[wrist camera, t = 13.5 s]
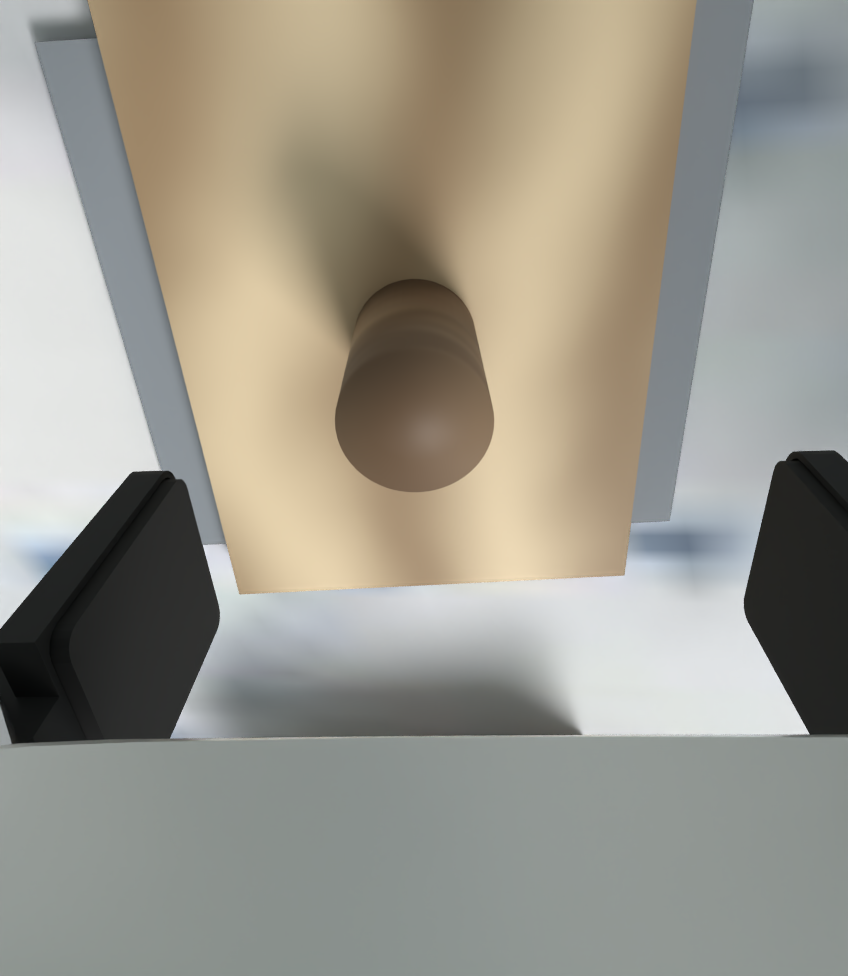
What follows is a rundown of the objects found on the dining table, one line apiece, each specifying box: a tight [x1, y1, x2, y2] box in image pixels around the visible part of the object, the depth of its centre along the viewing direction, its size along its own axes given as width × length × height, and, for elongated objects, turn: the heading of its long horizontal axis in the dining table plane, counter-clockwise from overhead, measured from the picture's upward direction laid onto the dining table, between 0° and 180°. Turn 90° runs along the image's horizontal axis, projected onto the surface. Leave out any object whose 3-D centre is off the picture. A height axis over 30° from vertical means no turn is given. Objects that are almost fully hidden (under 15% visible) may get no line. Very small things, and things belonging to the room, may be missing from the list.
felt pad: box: [35, 0, 754, 545], centre depth 19 cm, size 16×14×1 cm
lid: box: [87, 0, 697, 594], centre depth 16 cm, size 13×17×6 cm
